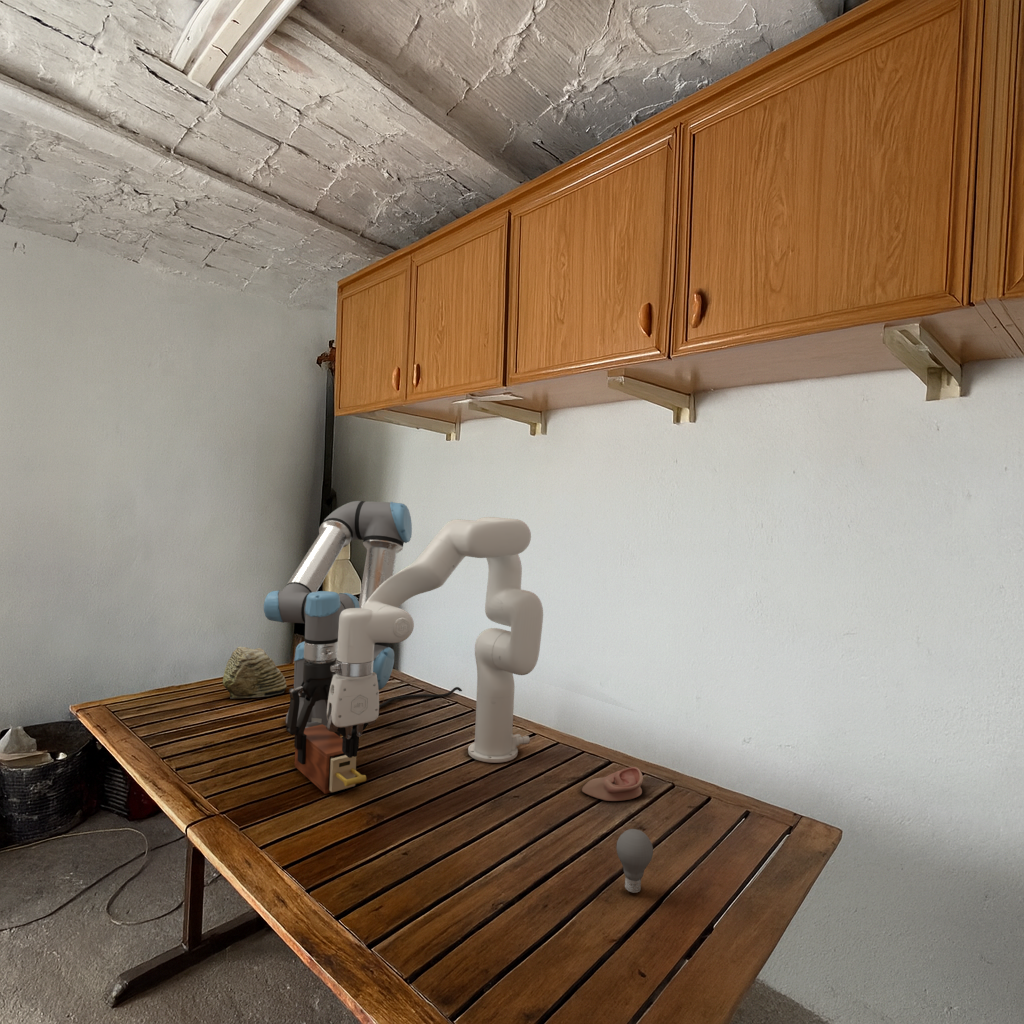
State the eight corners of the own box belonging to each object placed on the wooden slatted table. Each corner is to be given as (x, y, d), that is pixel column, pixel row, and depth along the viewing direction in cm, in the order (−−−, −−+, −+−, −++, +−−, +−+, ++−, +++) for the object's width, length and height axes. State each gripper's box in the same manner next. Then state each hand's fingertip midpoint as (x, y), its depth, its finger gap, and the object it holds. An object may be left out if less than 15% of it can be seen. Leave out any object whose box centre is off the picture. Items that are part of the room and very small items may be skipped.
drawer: (367, 796, 133) (369, 763, 133) (343, 803, 130) (345, 770, 130) (324, 760, 150) (325, 732, 149) (302, 766, 146) (303, 736, 146)
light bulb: (610, 879, 108) (613, 822, 108) (644, 879, 109) (647, 822, 109) (619, 902, 102) (622, 840, 102) (655, 901, 103) (658, 840, 103)
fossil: (218, 695, 195) (220, 647, 195) (278, 685, 208) (279, 640, 207) (228, 703, 189) (230, 653, 188) (289, 692, 201) (290, 645, 201)
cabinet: (353, 786, 139) (355, 747, 139) (325, 794, 135) (326, 754, 135) (321, 759, 152) (322, 724, 152) (294, 766, 148) (295, 729, 148)
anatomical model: (581, 779, 138) (585, 758, 149) (580, 797, 138) (585, 775, 149) (643, 787, 135) (643, 766, 147) (642, 806, 136) (642, 783, 147)
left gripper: (284, 669, 137) (280, 774, 137) (367, 657, 149) (363, 754, 150) (272, 661, 142) (268, 762, 143) (352, 650, 155) (348, 744, 156)
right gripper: (328, 676, 125) (323, 769, 125) (395, 667, 135) (390, 753, 135) (313, 668, 131) (308, 756, 131) (378, 660, 141) (373, 742, 141)
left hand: (316, 758), depth 146 cm, fingers closed on cabinet, 7 cm apart
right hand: (350, 754), depth 133 cm, fingers closed
